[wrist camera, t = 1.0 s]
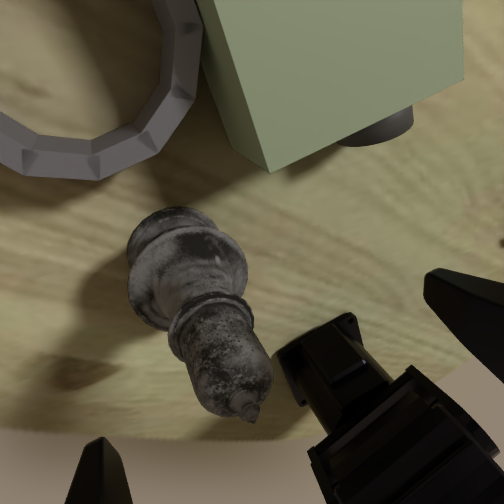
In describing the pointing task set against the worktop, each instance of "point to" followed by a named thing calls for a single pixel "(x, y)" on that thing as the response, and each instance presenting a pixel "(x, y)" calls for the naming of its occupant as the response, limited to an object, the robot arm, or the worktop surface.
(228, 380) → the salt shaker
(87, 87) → the worktop surface
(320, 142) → the block with end pegs
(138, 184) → the worktop surface
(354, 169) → the worktop surface
